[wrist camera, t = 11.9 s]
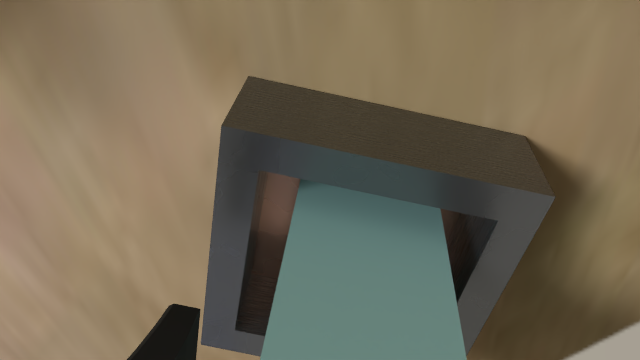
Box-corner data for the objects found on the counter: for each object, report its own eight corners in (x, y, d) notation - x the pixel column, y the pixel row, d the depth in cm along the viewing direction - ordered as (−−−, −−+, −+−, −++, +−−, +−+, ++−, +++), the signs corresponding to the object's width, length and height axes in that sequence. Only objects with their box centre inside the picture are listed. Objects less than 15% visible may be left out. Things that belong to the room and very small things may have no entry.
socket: (436, 321, 19) (445, 393, 17) (224, 277, 19) (200, 344, 16) (525, 136, 15) (555, 196, 12) (248, 75, 14) (221, 125, 12)
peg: (398, 282, 17) (412, 554, 11) (283, 257, 17) (226, 517, 11) (436, 188, 15) (484, 457, 9) (305, 159, 15) (248, 410, 8)
